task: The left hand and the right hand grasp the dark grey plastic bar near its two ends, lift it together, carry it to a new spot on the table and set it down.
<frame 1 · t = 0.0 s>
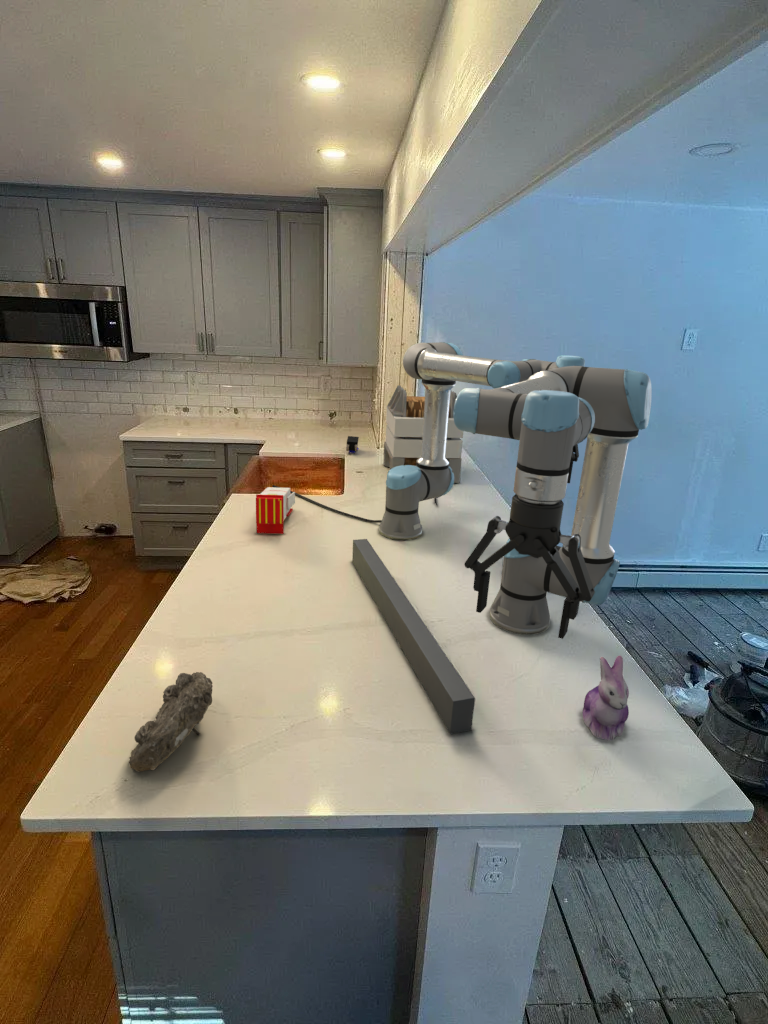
left hand: (552, 485, 166), 28 cm above the counter, tool pointing down, fingers open, 13 cm apart
right hand: (520, 621, 92), 28 cm above the counter, tool pointing down, fingers open, 13 cm apart
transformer: (419, 473, 275), on the counter
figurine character: (352, 452, 309), on the counter
feather: (435, 496, 242), on the counter
figurine: (604, 725, 111), on the counter
bar: (397, 625, 142), on the counter
toy: (275, 520, 207), on the counter
fossil: (179, 732, 104), on the counter
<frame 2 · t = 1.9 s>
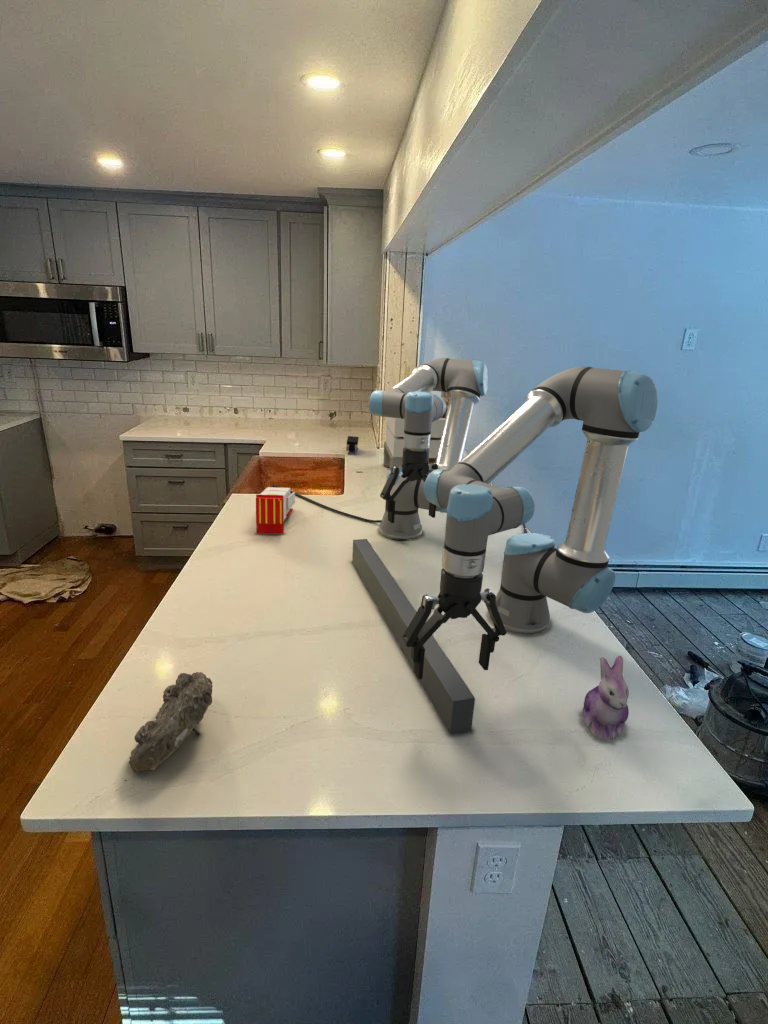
left hand: (411, 518, 167), 17 cm above the counter, tool pointing down, fingers open, 13 cm apart
right hand: (451, 670, 109), 10 cm above the counter, tool pointing down, fingers open, 13 cm apart
nothing on the counter moved.
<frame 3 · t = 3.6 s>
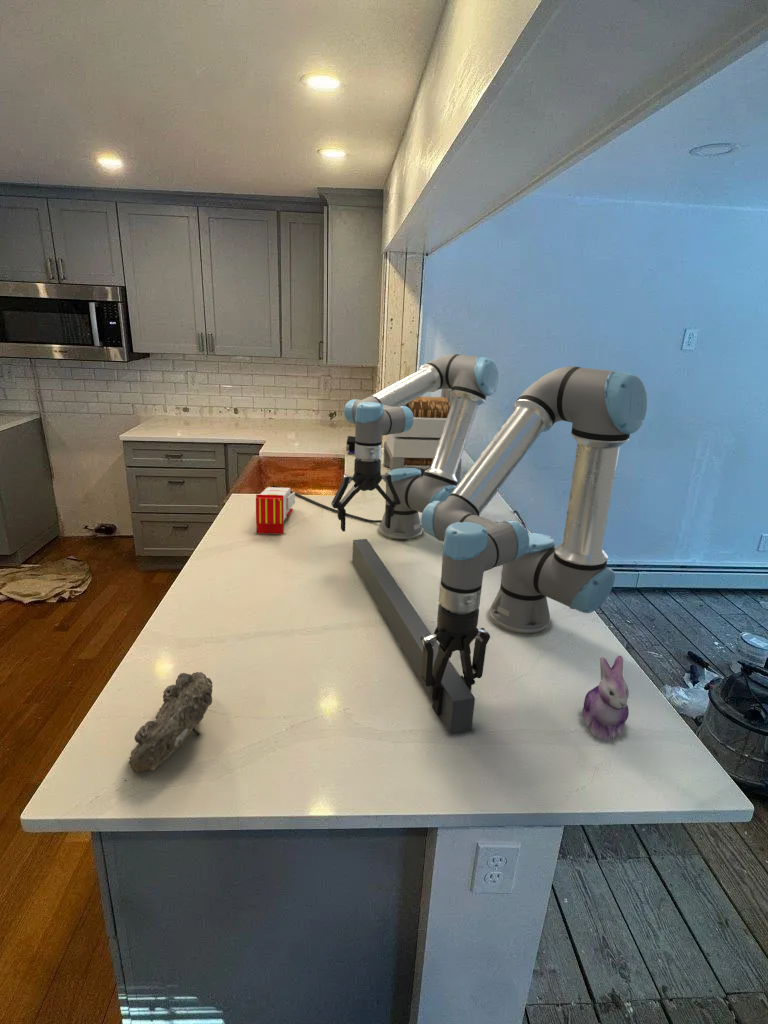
left hand: (365, 528, 167), 13 cm above the counter, tool pointing down, fingers open, 13 cm apart
right hand: (448, 709, 112), 1 cm above the counter, tool pointing down, fingers closed on bar, 4 cm apart
bar: (397, 625, 142), on the counter, touching right hand
everything else where it was.
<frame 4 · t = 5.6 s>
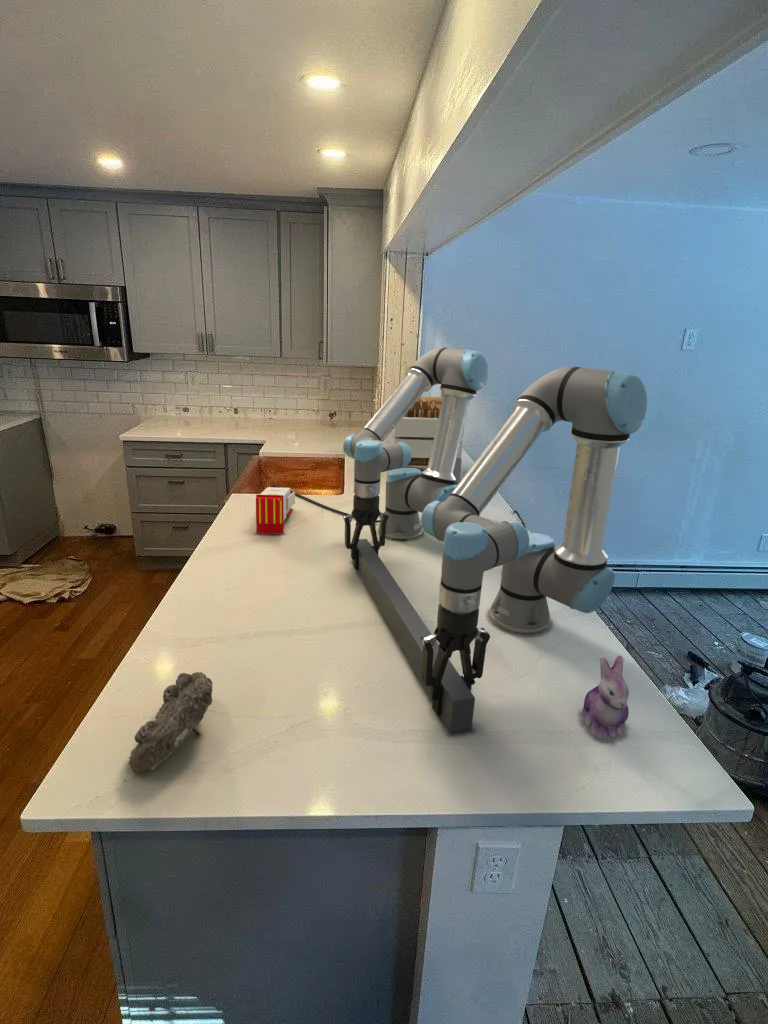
left hand: (364, 567, 171), 1 cm above the counter, tool pointing down, fingers closed on bar, 4 cm apart
right hand: (448, 709, 112), 1 cm above the counter, tool pointing down, fingers closed on bar, 4 cm apart
bar: (397, 625, 142), on the counter, touching left hand, right hand
everything else where it was.
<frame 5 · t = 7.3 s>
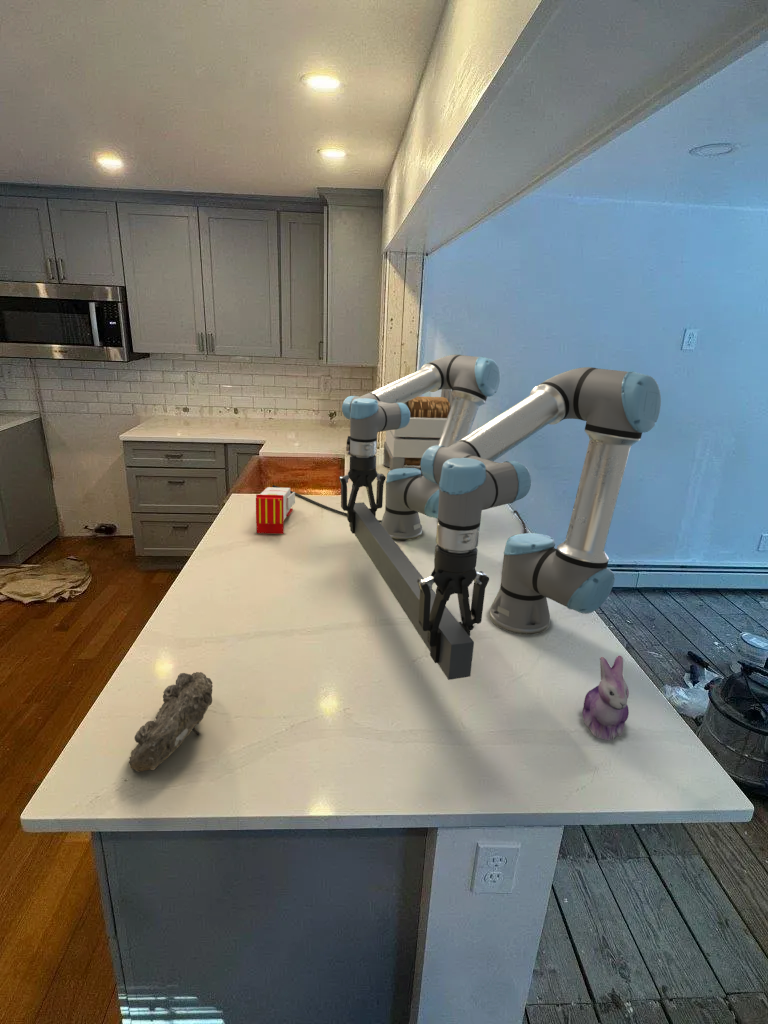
left hand: (361, 530, 168), 12 cm above the counter, tool pointing down, fingers closed on bar, 4 cm apart
right hand: (446, 656, 109), 12 cm above the counter, tool pointing down, fingers closed on bar, 4 cm apart
bar: (394, 582, 139), point 12 cm above the counter, touching left hand, right hand
everything else where it was.
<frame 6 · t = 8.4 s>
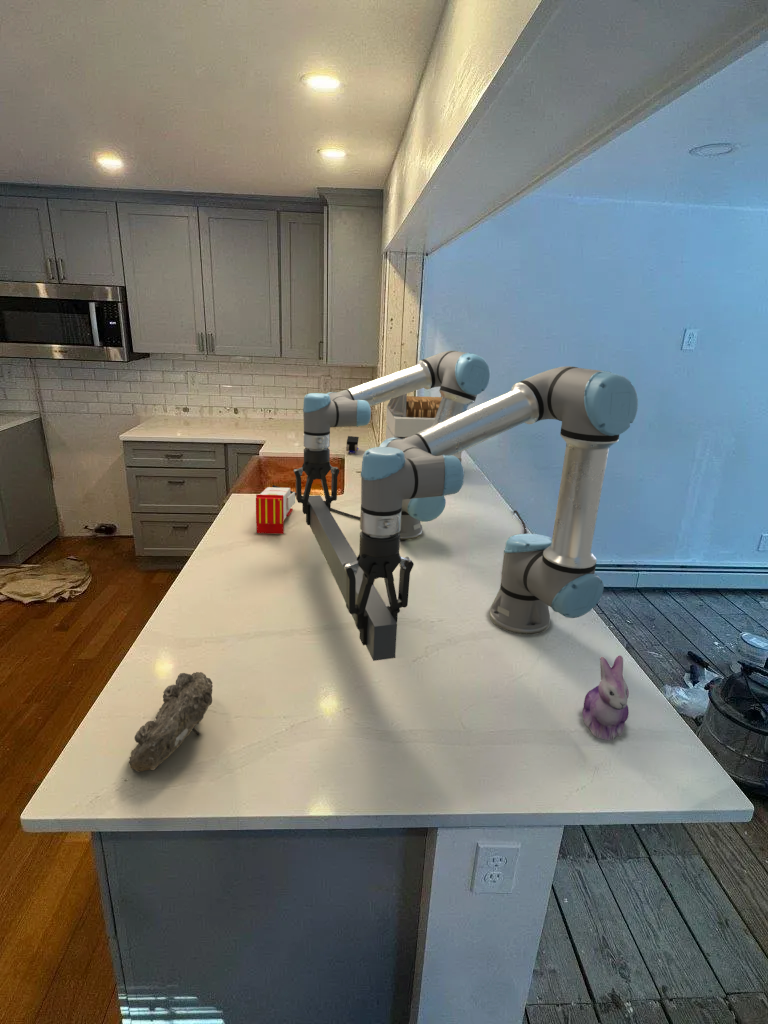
left hand: (316, 522, 172), 12 cm above the counter, tool pointing down, fingers closed on bar, 4 cm apart
right hand: (375, 639, 113), 13 cm above the counter, tool pointing down, fingers closed on bar, 4 cm apart
bar: (340, 571, 143), point 12 cm above the counter, touching left hand, right hand
everything else where it was.
when the left hand's fingers open (1 cm above the counter, at t = 11.4 s): bar stays where it is, on the counter.
when the right hand's fingers open (1 cm above the counter, at t = 11.4 s): bar stays where it is, on the counter.
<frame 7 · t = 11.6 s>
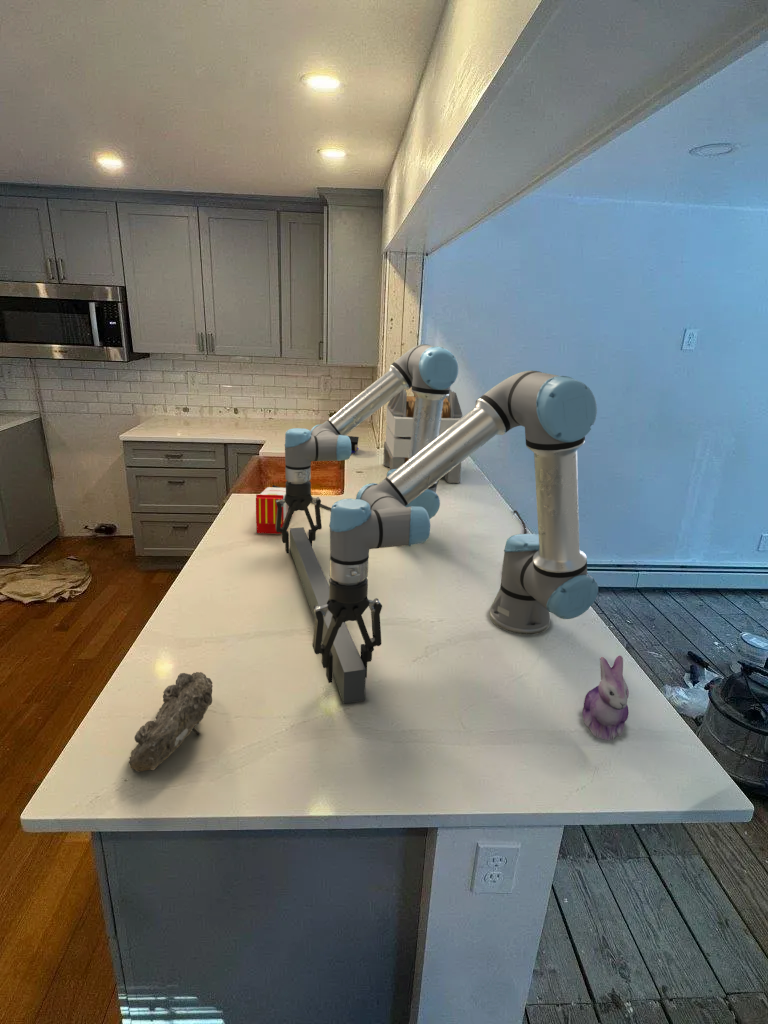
left hand: (298, 550, 178), 2 cm above the counter, tool pointing down, fingers open, 7 cm apart
right hand: (346, 676, 119), 2 cm above the counter, tool pointing down, fingers open, 7 cm apart
bar: (318, 607, 149), on the counter
everything else where it was.
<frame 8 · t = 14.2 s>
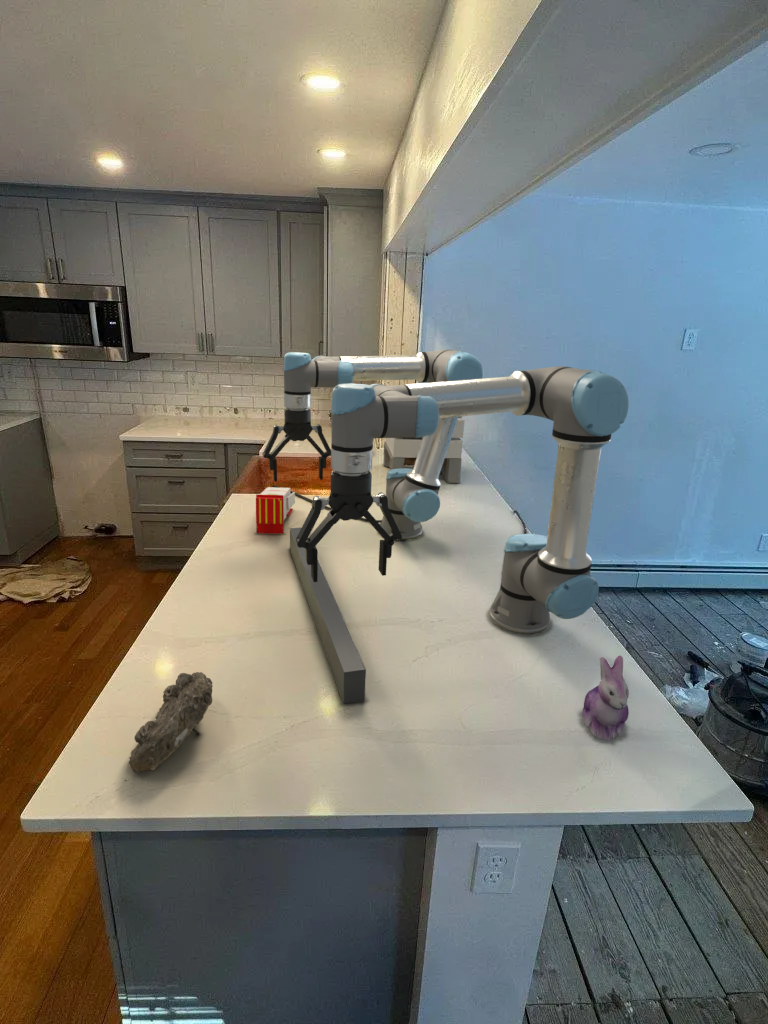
left hand: (298, 479, 170), 25 cm above the counter, tool pointing down, fingers open, 13 cm apart
right hand: (348, 575, 111), 25 cm above the counter, tool pointing down, fingers open, 13 cm apart
nothing on the counter moved.
at the end: bar inside the target area (0.2 cm from its centre), on the counter; bar tilted 0°; bar never tilted more than 2° during the clip; both hands held the bar at the same time; the left hand is holding nothing; the right hand is holding nothing; bar at rest at the end (0.0 cm/s) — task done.
